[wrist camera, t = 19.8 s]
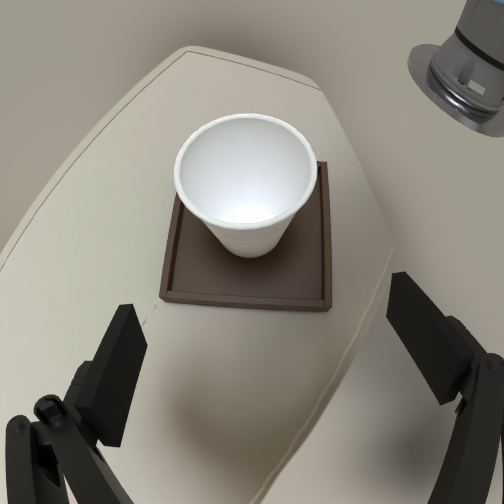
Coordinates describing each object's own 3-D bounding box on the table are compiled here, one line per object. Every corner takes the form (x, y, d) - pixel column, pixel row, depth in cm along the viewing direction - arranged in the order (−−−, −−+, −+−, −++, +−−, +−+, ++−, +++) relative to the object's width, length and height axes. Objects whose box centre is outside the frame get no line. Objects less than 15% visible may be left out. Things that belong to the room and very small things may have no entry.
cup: (315, 208, 32) (336, 138, 22) (275, 295, 29) (283, 254, 19) (228, 174, 34) (217, 99, 23) (182, 252, 31) (146, 195, 20)
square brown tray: (323, 172, 34) (327, 161, 32) (327, 311, 29) (332, 307, 27) (187, 167, 35) (183, 156, 33) (165, 301, 30) (158, 297, 28)
